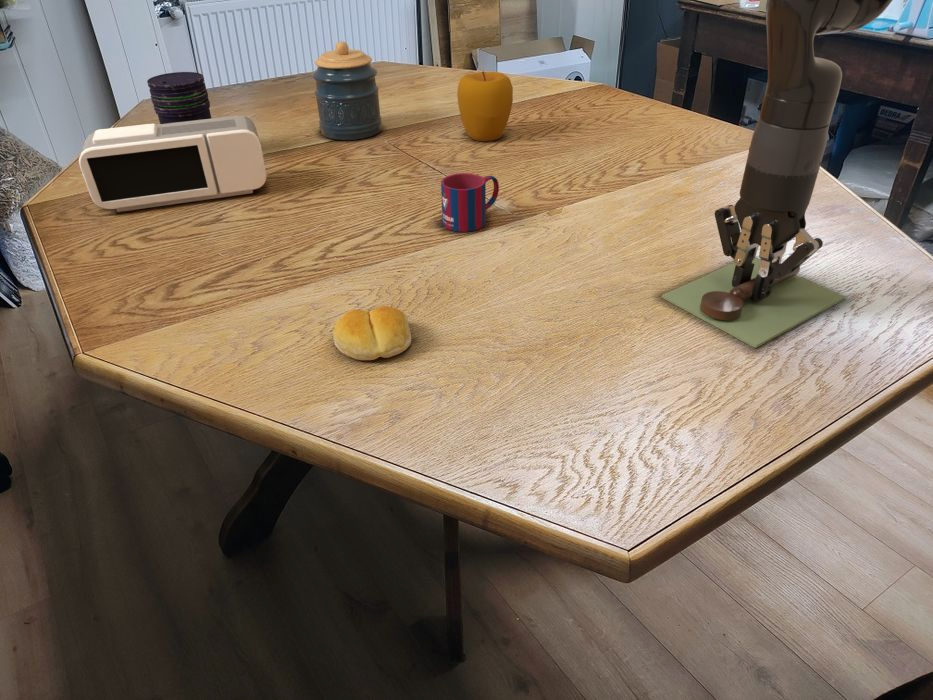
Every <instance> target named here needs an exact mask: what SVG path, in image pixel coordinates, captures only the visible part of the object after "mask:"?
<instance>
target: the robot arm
mask: <svg viewBox="0 0 933 700" xmlns="http://www.w3.org/2000/svg"><path fill="white" fill-rule="evenodd" d="M893 1H894V0H766V4H765V25H766V44H767V47H766V48H767V80H766V86H765V90H764V94H763V99H762V103H761V107H760V112H759V116H758V119H757V122H756V125H755V128H754V131H753V134H752V136H751V140H750V145H749V148H748V154H747V158H746V163H745V166H744V167H745V168H744V171H743V176H742V179H741V184H740V190H739V199H738V200H737V201H736V203H735V204H734V205H733V204H728V205H725V206H723V207H719V208H718V209H716V210H715V211H714V218H715V223H716V226H717V232H718V234H719V239H720V244H721V248H722V252H723V255H724V256H725V257H731V258H732V259H733V263H735V265H736V266H735V270H734V274H733V279H732V286H733V287H736V286H738V285H740V284H743V283H745V282H747V281H749V280H751V276H752V272H753V268H754V263H752V261H753V260H754V259H755V258H756V257H757V252H758V250H759V253H758V259H760V260H761V261H760V266H759V274H758V275H757V276H756V280H755V283H754V287H753V291H752V296H751V300H752V301H754V302H756V303H757V302H759V301H761V300H763V299H765V298H767V297H768V296H769V295H770V294H771V291H772V287H773V284H774V280H775V278H777V279H780V278H782V277H784V276H786V275H788V274H790V273H792V272H794V271H795V270H796V269H797V268H798V267H799V266H800V267H801V266H802V265H803V264H804V263H805V262H806V261H808V259H810V258H811V257H812V256H814V254H816V252H818V251H819V250H820V249H821V248H822V247H823V245H824V241H823V239H821V238H820V237H815V238H813V237H812V235H811V234H810V233H809V232H808V231H807V229H806V226H807V222H806V211H807V209H808V207H809V205H810V202H811V199H812V196H813V193H814V192H813V191H814V189H815V185H816V182H817V178H818V175H819V171H820V168H821V164H822V161H823V159H824V154H825V152H826V147H827V141H828V134H829V129H830V125H831V121H832V117H833V114H834V110H835V107H836V105H837V104H836V103H837V100H838V97H839V94H840V89H841V84H842V80H843V71H842V68H841V66H839V64H837V63H836V62H834V61H833V60H830V59H826V58H822V57H817V56H815V49H814V40H815V36H821V35H837V34H847V33H851V32H854V31H857V30H859V29H861V28H863V27H865V26H867V25H869V24H871V23H872V22H874V21H875V20H877V18H879V17H880V16H881V15H882V14H883V13H884V12H885V11H886V10H887V9H888V7H889V6H890V4H891V3H892V2H893ZM793 239H795V242H794V244H793V247H792V251H793V252H792V253H791V254H790V255H789V256H788V257H787V258H785V260H783V261H782V259H783V256H784V254H785V253H786V251H787V245H788V243H789V242H791V240H793Z"/></svg>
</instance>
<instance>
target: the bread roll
mask: <svg viewBox="0 0 933 700" xmlns="http://www.w3.org/2000/svg"><path fill="white" fill-rule="evenodd" d="M332 337H333V341H334V342H333V343H334V345H335V347H336V348H337V349H338V350H339V352H341V353H342V354H343V355H345V356H347V357H349V358H352V359H354V360H358V361H373V360H376V359H379V358H380V357H381V358H384V359H385V358H387V359H388V358H392V357H394V356H397V355H399V354H401V353H403V352H404V351H406V350H407V349H408V348H409V347H410V345H411V344H412V334H411V329H410V325H409V317H408V315H407V314H406V313H404V311H402V310H401V309H399V308H396V307H393V306H389V305H380V306H377V307H376V308H374V309H372V310H370V311H368V310H363V309H352V310H349V311H347V312H346V313H344V314H343V315H341V317H340V318H339V319H338V320H337V322H336V323H335V325H334V327H333V332H332Z"/></svg>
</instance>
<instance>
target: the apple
mask: <svg viewBox="0 0 933 700" xmlns="http://www.w3.org/2000/svg"><path fill="white" fill-rule="evenodd" d="M456 95H457V96H456V97H457V105H458V111H459V115H460V119H461V123H462V124H463V128H464V131H465V132H466V133H467V135H468V137H469V138H471V139H473V140H474V141H477V142H492V141H496V140H498V139H500V138H501V137H502V136H503V134H504V132H505V129H506V127H507V126H508V125H507V124H508V122H509V119H510V115H511V112H512V107H513V99H514V87H513V83H512V81H511V79H510V77H509V76H507V75H505V74H504V73H503V72H501V71H484V70H483V71H479V72H473V73H467V74H464V75H463V76H461V78H460V79H459V82H458V85H457V94H456Z"/></svg>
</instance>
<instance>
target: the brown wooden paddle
mask: <svg viewBox="0 0 933 700" xmlns="http://www.w3.org/2000/svg"><path fill="white" fill-rule="evenodd" d="M800 271H801V265H800V266H799V267H798V268H797V269H796V270H795V271H794V272H792V273H790V274H788V275H786V276H784V277H782V278H780V279H777V278H775V280H774V284H773V286H775V285H777V284H779V283H781V282H783V281H785V280H787V279H789V278H791V277H793V276H795V275H797V276H798V274H799V273H800ZM755 280H756V277H755V278H753V279H751V280H749V281H747V282H745V283H743V284H740V285H738V286H736V287H734V288H733V289H731V291H730V293H728V292H723V291H712V292H708V293H706V294H704V295H703V296H702V299H701V304H700V309H701V311H702V312H703V313H704V314H706V315H707V316H709V317H712V318H715V319H720V320H732V319H735V318H738V317H739V316H740V315H741V312H742V308H743V301H745V300H747V299H749V298H751V296H752V291H753V287H754V283H755Z"/></svg>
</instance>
